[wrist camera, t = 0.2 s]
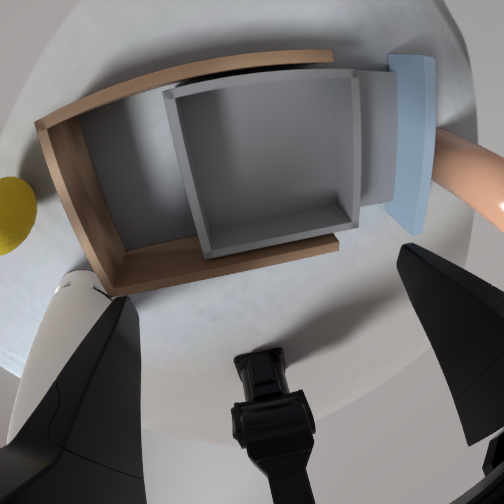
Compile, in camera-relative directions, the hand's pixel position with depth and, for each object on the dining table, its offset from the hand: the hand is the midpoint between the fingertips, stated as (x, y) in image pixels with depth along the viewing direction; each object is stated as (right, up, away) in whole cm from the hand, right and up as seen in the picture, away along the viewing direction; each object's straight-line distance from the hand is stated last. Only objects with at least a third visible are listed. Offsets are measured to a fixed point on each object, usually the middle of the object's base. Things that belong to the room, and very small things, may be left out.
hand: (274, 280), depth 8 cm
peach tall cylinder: (+18, +11, +14) cm, 25 cm away
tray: (+3, +9, +12) cm, 15 cm away
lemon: (-20, +6, +10) cm, 23 cm away
